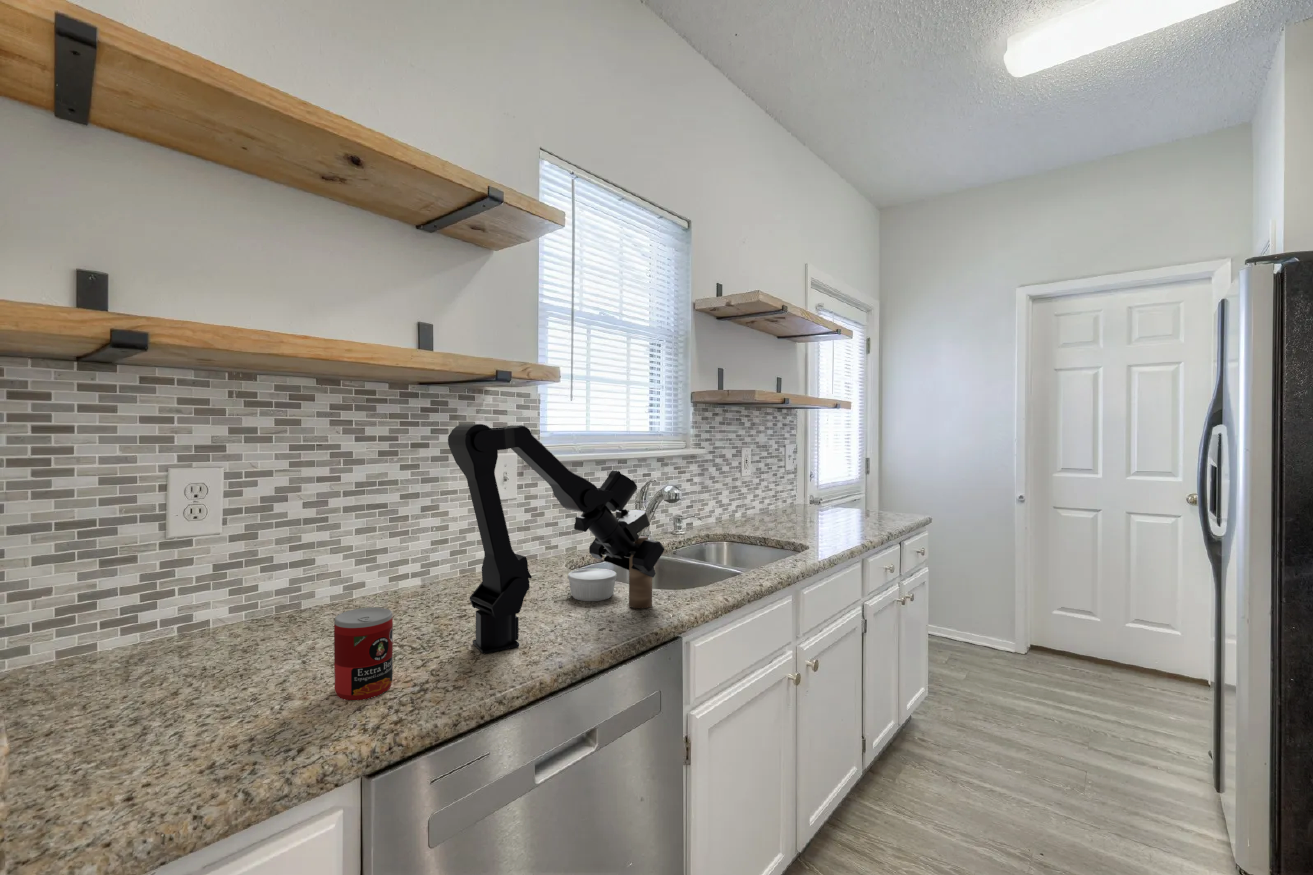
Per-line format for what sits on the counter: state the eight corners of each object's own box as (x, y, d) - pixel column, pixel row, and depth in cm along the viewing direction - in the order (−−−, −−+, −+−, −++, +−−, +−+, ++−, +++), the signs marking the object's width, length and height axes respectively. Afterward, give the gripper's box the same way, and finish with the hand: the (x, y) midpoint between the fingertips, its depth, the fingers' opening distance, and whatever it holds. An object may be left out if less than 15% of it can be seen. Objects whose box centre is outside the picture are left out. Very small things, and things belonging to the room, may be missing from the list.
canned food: (354, 706, 82) (354, 627, 82) (322, 692, 87) (322, 617, 86) (404, 686, 89) (404, 612, 89) (372, 674, 93) (372, 604, 93)
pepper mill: (636, 609, 126) (637, 540, 126) (624, 603, 130) (625, 536, 130) (656, 606, 129) (657, 538, 129) (644, 600, 133) (644, 534, 133)
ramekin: (589, 587, 145) (590, 565, 145) (626, 594, 139) (626, 572, 139) (557, 597, 136) (557, 574, 136) (594, 606, 130) (595, 581, 130)
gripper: (658, 502, 120) (695, 550, 127) (600, 494, 133) (636, 538, 141) (628, 546, 114) (668, 594, 122) (570, 533, 128) (610, 577, 136)
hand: (645, 573), depth 130 cm, fingers closed on pepper mill, 5 cm apart
